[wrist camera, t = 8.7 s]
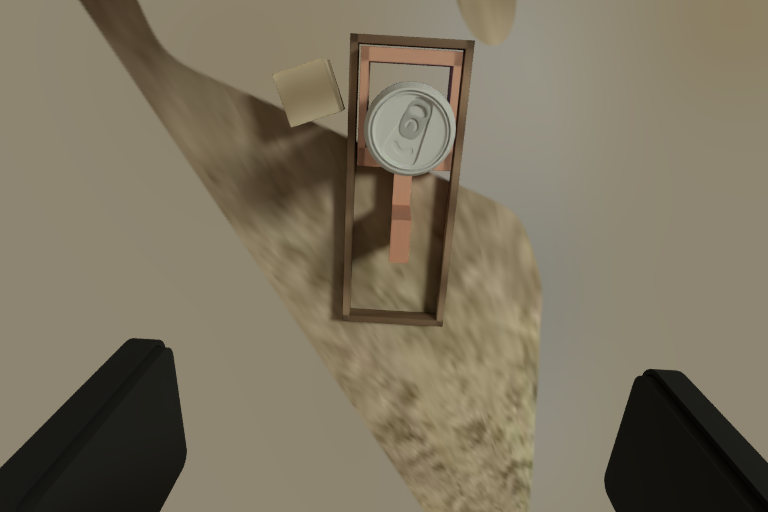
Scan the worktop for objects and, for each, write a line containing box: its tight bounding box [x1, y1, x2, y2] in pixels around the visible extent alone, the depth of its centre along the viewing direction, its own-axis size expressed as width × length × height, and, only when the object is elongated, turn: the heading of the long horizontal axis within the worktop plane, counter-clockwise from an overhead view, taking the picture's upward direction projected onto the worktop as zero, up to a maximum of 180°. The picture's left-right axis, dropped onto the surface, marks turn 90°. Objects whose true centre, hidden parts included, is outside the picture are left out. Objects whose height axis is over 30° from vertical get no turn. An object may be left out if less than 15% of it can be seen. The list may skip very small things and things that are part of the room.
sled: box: [357, 46, 463, 263], centre depth 37 cm, size 16×8×6 cm, turn 177°
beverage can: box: [364, 81, 456, 176], centre depth 32 cm, size 5×5×15 cm
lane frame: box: [343, 33, 475, 327], centre depth 41 cm, size 25×10×2 cm, turn 177°
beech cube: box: [272, 58, 345, 127], centre depth 37 cm, size 4×4×4 cm
